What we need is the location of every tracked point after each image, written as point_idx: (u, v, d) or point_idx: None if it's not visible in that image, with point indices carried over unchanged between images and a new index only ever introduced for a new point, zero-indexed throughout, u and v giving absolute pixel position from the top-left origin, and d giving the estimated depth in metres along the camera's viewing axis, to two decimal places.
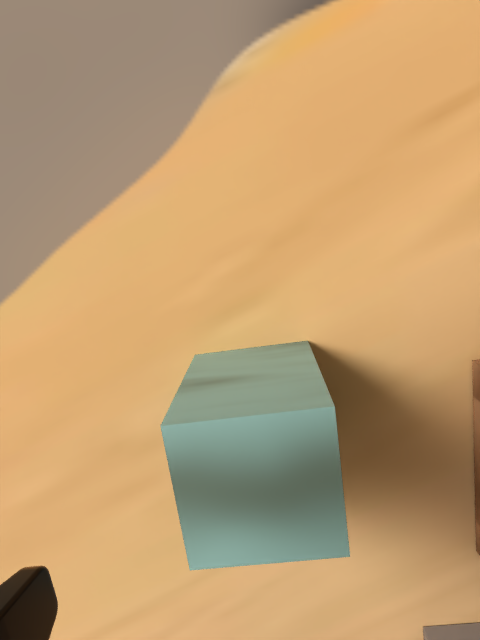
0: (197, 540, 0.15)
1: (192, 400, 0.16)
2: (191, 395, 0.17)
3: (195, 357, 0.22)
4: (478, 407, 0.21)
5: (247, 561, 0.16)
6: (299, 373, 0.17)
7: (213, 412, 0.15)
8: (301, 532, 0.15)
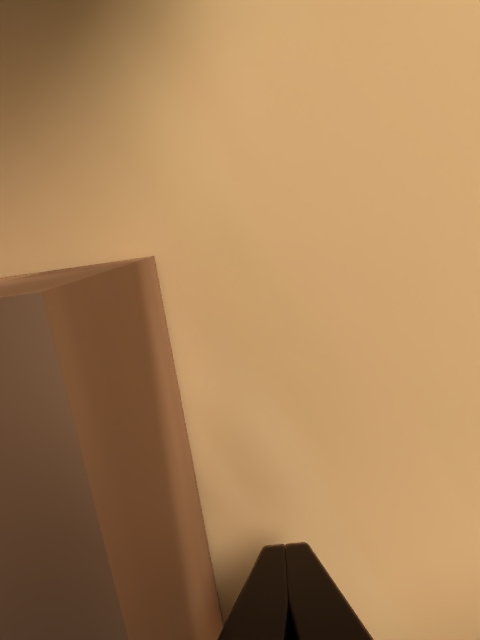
0: None
1: None
2: None
3: None
4: (13, 277, 0.07)
5: None
6: None
7: None
8: None
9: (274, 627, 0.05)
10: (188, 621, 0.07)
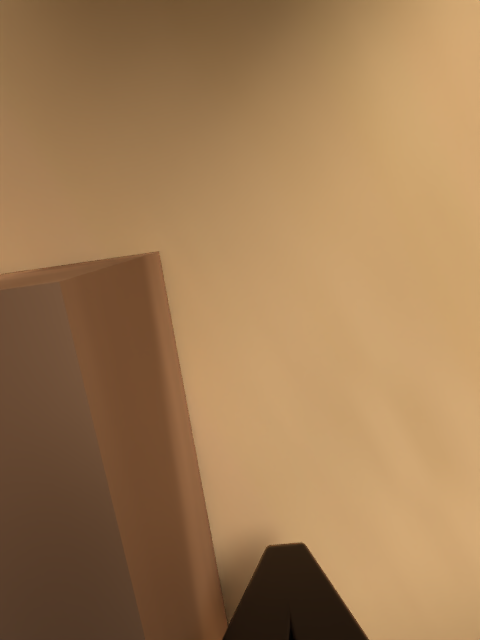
0: None
1: None
2: None
3: None
4: (19, 272, 0.07)
5: None
6: None
7: None
8: None
9: (279, 627, 0.05)
10: (195, 611, 0.07)
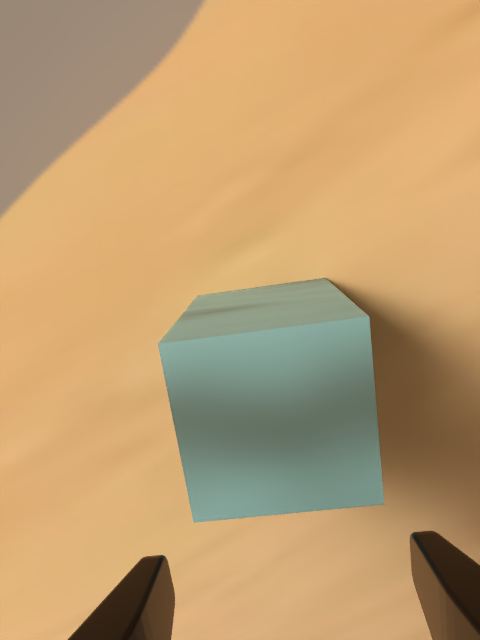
0: (202, 486, 0.13)
1: (196, 324, 0.14)
2: (194, 321, 0.14)
3: (198, 297, 0.19)
4: None
5: (262, 511, 0.13)
6: (320, 298, 0.15)
7: (221, 330, 0.12)
8: (326, 475, 0.13)
9: (113, 639, 0.06)
10: None
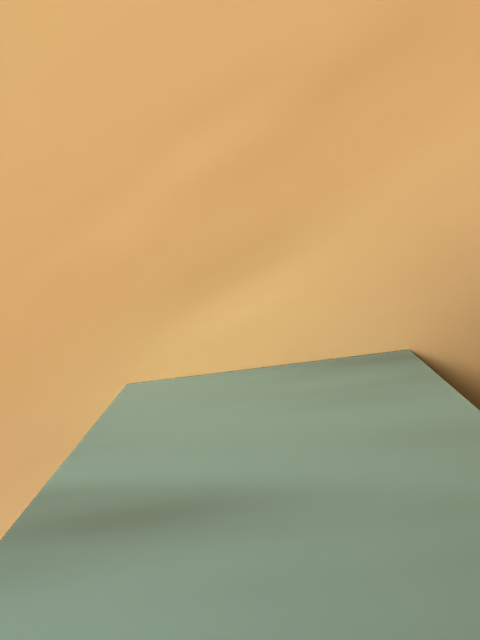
0: None
1: None
2: (2, 625, 0.04)
3: (123, 393, 0.09)
4: None
5: None
6: (479, 497, 0.04)
7: None
8: None
9: None
10: None
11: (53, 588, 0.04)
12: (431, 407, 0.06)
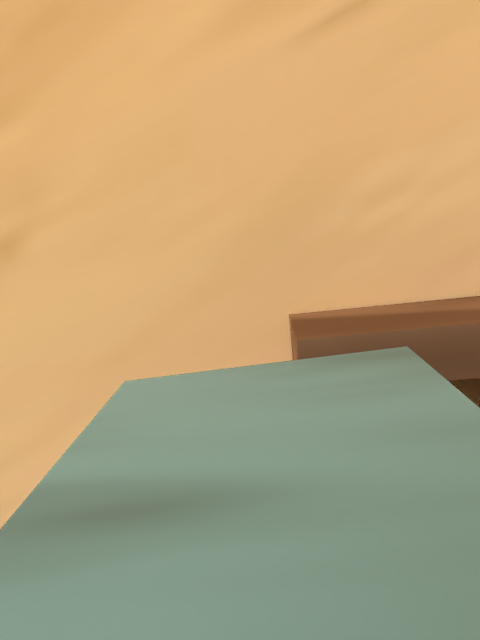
0: None
1: None
2: None
3: (121, 390, 0.09)
4: None
5: None
6: (477, 491, 0.04)
7: None
8: None
9: None
10: (444, 311, 0.16)
11: (48, 581, 0.04)
12: (428, 403, 0.06)
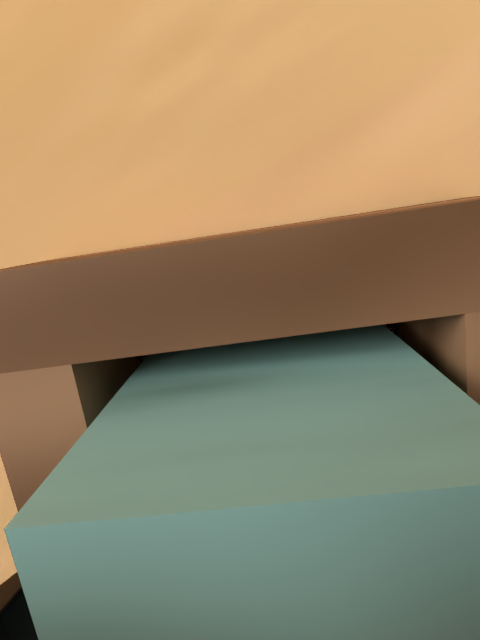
0: None
1: (128, 436, 0.06)
2: (129, 422, 0.07)
3: None
4: None
5: None
6: (381, 370, 0.08)
7: (171, 481, 0.05)
8: None
9: None
10: (249, 231, 0.09)
11: (150, 411, 0.07)
12: (370, 337, 0.10)
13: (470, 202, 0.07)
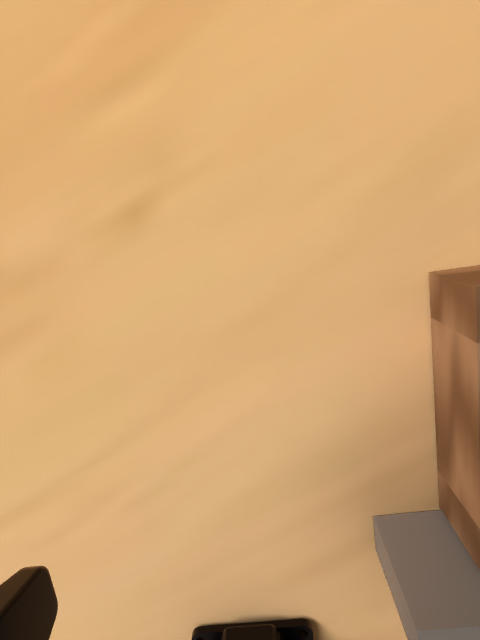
0: None
1: None
2: None
3: None
4: (436, 328, 0.18)
5: None
6: None
7: None
8: None
9: None
10: None
11: None
12: None
13: None
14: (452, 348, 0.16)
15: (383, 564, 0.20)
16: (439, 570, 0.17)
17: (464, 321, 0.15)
